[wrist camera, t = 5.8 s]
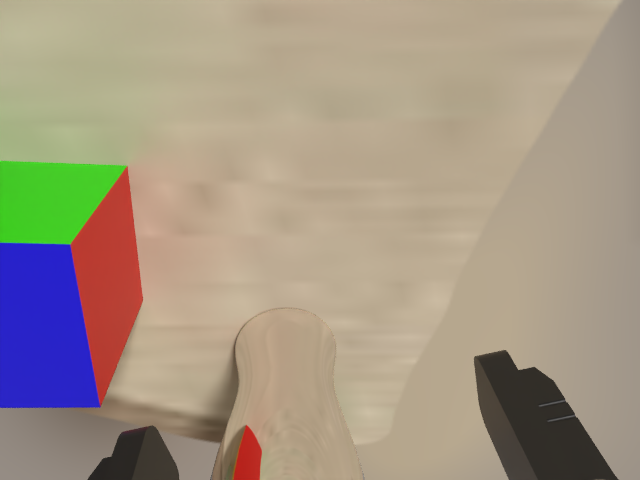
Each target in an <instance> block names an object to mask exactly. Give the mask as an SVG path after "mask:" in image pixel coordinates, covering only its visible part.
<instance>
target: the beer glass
mask: <svg viewBox="0 0 640 480" xmlns="http://www.w3.org/2000/svg"><path fill="white" fill-rule="evenodd" d="M335 358H336V341H335V338H334V335H333V333H332V331H331V329H330V328H329V326H328V325H327V324H326V323H325V322H324V321H323V320H322V319H320V318H319V317H317V316H316V315H314V314H312V313H310V312H307V311H304V310H300V309H293V308H280V309H274V310H270V311H266V312H264V313H261V314H259V315H257V316H256V317H254V318H252V319H251V320H250V321H249V322H247V323H246V324H245V326H244V327H243V328H242V329H241V331H240V333H239V335H238V337H237V340H236V344H235V359H236V366H237V372H238V380H239V383H238V391H237V396H236V400H235V403H234V406H233V409H232V412H231V415H230V418H229V421H228V424H227V427H226V429H225V432H224V435H223V438H222V441H221V444H220V448H219V451H218V454H217V457H216V461H215V464H214V468H213V472H212V475H211V479H210V480H364V475H363V471H362V468H361V465H360V462H359V458H358V455H357V451H356V448H355V445H354V442H353V440H352V437H351V434H350V431H349V428H348V426H347V423H346V420H345V418H344V415H343V413H342V410H341V407H340V404H339V401H338V398H337V394H336V391H335V386H334V365H335Z"/></svg>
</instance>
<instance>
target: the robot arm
mask: <svg viewBox="0 0 640 480" xmlns="http://www.w3.org/2000/svg"><path fill="white" fill-rule="evenodd" d="M474 365H475V373H476V382H477V391H478V400H479V406H480V410H481V414H482V417H483V420H484V423H485V426H486V428H487V431H488V433H489V435H490V438H491V440H492V442H493V444H494V447H495V449H496V451H497V453H498V456H499V458H500V460H501V463H502V465H503V467H504V469H505V472H506V474H507V476H508V478H509V480H618V479H617V477H616V476H615V475H614V473H613V472H612V470H611V469H610V467H609V466H608V464H607V463H606V461H605V459H604V458H603V456H602V455H601V453H600V452H599V450H598V449H597V447H596V446H595V444H594V443H593V441H592V439H591V438H590V436H589V435H588V434H587V432H586V430H585V429H584V427H583V426H582V424H581V422H580V421H579V419H578V418H576V416H575V413H574V412H573V410H572V409H571V407H570V406H569V404H568V403H566V401H565V398H564V396H563V395H562V393H561V392H560V390H559V389H558V387H557V386H556V384H555V382H554V381H553V380H552V379H550V378H549V377H547V376H546V375H545V374H543V373H542V372H541V371H539V370H538V369H536V368H535V367H532V368H528V369H523V370H518V369H517V367H516V365H515V364H514V362H513V360H512V359H511V357H510V355H509V354H508V352H507V351H506V350H503V351H498V352H494V353H489V354H484V355H479V356H475V357H474ZM88 480H179V473H178V469H177V466H176V464H175V462H174V460H173V458H172V456H171V455H170V452H169V451H168V449H167V447H166V445H165V443H164V441H163V439H162V437H161V436H160V434H159V432H158V430H157V429H156V427H154V426H148V427H143V428H138V429H134V430H129V431H125V432H122V433H121V434H120V436H119V438H118V440H117V443H116V445H115V448H114V451H113V454H112V457H108V458H104V459H102V461H101V462H100V463H99V465H98V466H97V467H96V469H95V470H94V472H93V473H92V474H91V475H90V477H89V478H88Z"/></svg>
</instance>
